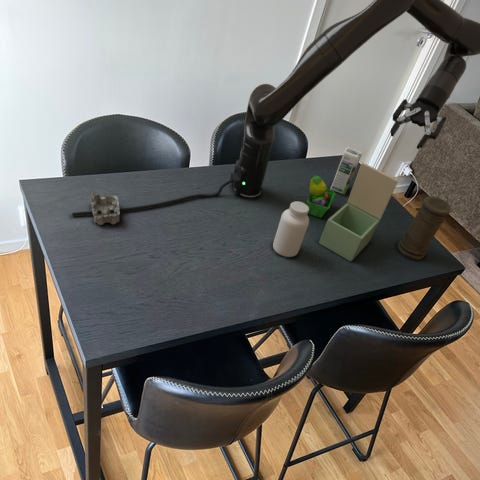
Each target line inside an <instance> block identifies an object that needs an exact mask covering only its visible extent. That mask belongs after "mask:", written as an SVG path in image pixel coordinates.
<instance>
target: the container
mask: <svg viewBox="0 0 480 480" xmlns="http://www.w3.org/2000/svg"><path fill="white" fill-rule="evenodd" d="M451 211H452V207H451V205H450V204H449V203H448V201H446V200H445V199H442V198H440V197H438V196H433V195H429V196H426V197H425V198H424V199H423V201H422V204H421V206H420V208H419V209H418V210H417V213H416V214H415V216H414V218H413V220H412V222H411V224H410V225H409V228H408V229H407V230H406V231H405V233H404V235H403V236H402V237H401V238H400V240H399V241H398V242H397V249H398V251H399V252H400V253H401V254H402V255H403V256H405V257H406V258H408V259H412V260H415V261H418V260H422V259H423V258H424V257H425V256H426V253H427V252H428V248H429V246H430V245H431V242H432V240H433V238H434V237H435V235H436V234H437V232H438V231H439V230H440V227H441V226H442V224H443V223H444V221H445V218H447V217H448V215H449V214H450V213H451Z"/></svg>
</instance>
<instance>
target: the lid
mask: <svg viewBox="0 0 480 480" xmlns="http://www.w3.org/2000/svg"><path fill="white" fill-rule="evenodd" d="M398 182H399V179H396V178H395V177H393V176H391V175H389V174H387V173H385V172H383V171H380V170H379V169H377V168H376V167H373V166H372V165H369V164H367V163H365V162H361V164H360V166H359V168H358V171H357V174H356V177H355V180H354V182H353V185H352V188H351V191H350V194H349V196H348V199H347V201H346V203H349V204H351V205H353V206H354V207H356V208H358V209H360V210H362V211H364V212H366V213H367V214H369V215H371V216H373V217H375V218H377V219H379V220H381V219H382V217H383V215H384V212H385V211H386V209H387V206H388V204H389V202H390V200H391V198H392V196H393V194H394V191H395V189H396V187H397V185H398Z"/></svg>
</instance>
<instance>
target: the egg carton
mask: <svg viewBox="0 0 480 480" xmlns="http://www.w3.org/2000/svg"><path fill="white" fill-rule="evenodd" d="M90 195H91V201H90V203H91V211H92V212H93V214H92V216H93V222H94V223H95V224H98V225H99V226H101V225H102V226H103V225H104V224H105V223H109V224H111V225H116V224H117V223H120V214H121V212H120V209H121V208H120V203H119V197H118V196H116V195H111V194H110V195H107V194H105V195H104V196H100V194H99V193H94V192H91V194H90ZM111 209H114V212H113V213H110V210H111ZM99 210H102V214H98V211H99Z"/></svg>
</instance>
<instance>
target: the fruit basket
mask: <svg viewBox="0 0 480 480" xmlns="http://www.w3.org/2000/svg"><path fill="white" fill-rule="evenodd" d="M308 191H309V195H308V197H307V199H306V203H307V204H306V205H307V206H308V208H309V212H308V214H307V215H311V216H314V217H317V218H320V219H322V218H323V217H324V215H325V214H326V213H327V211H329V209H330V207H331V205H332V203H333V200H334V197H335V196H336V191H334V190H331V189H330V188H329V189H328V188H327V184H326V182H324V180H323V179H322V177H321V176H320V175H313V177H312V178H310V184H309V189H308Z"/></svg>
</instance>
